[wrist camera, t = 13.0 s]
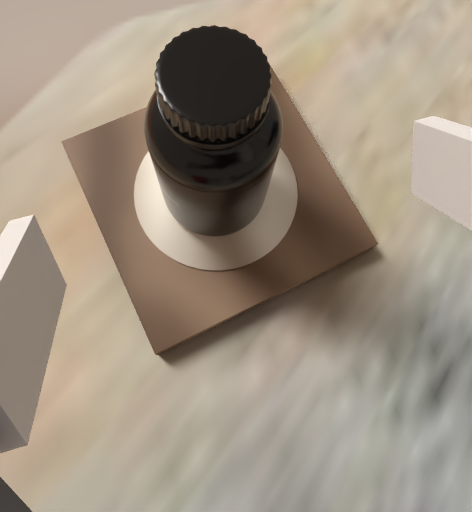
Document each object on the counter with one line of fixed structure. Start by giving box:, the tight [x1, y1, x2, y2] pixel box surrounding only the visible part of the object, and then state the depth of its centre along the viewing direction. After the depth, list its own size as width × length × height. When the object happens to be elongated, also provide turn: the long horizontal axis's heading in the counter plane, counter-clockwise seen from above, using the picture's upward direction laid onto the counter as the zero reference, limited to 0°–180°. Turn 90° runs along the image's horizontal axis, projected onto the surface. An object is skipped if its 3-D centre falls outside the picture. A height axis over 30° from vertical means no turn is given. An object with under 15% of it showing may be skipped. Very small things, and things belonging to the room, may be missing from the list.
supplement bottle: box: [144, 25, 283, 237], centre depth 23 cm, size 7×7×12 cm
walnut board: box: [62, 61, 378, 355], centre depth 29 cm, size 16×16×2 cm
